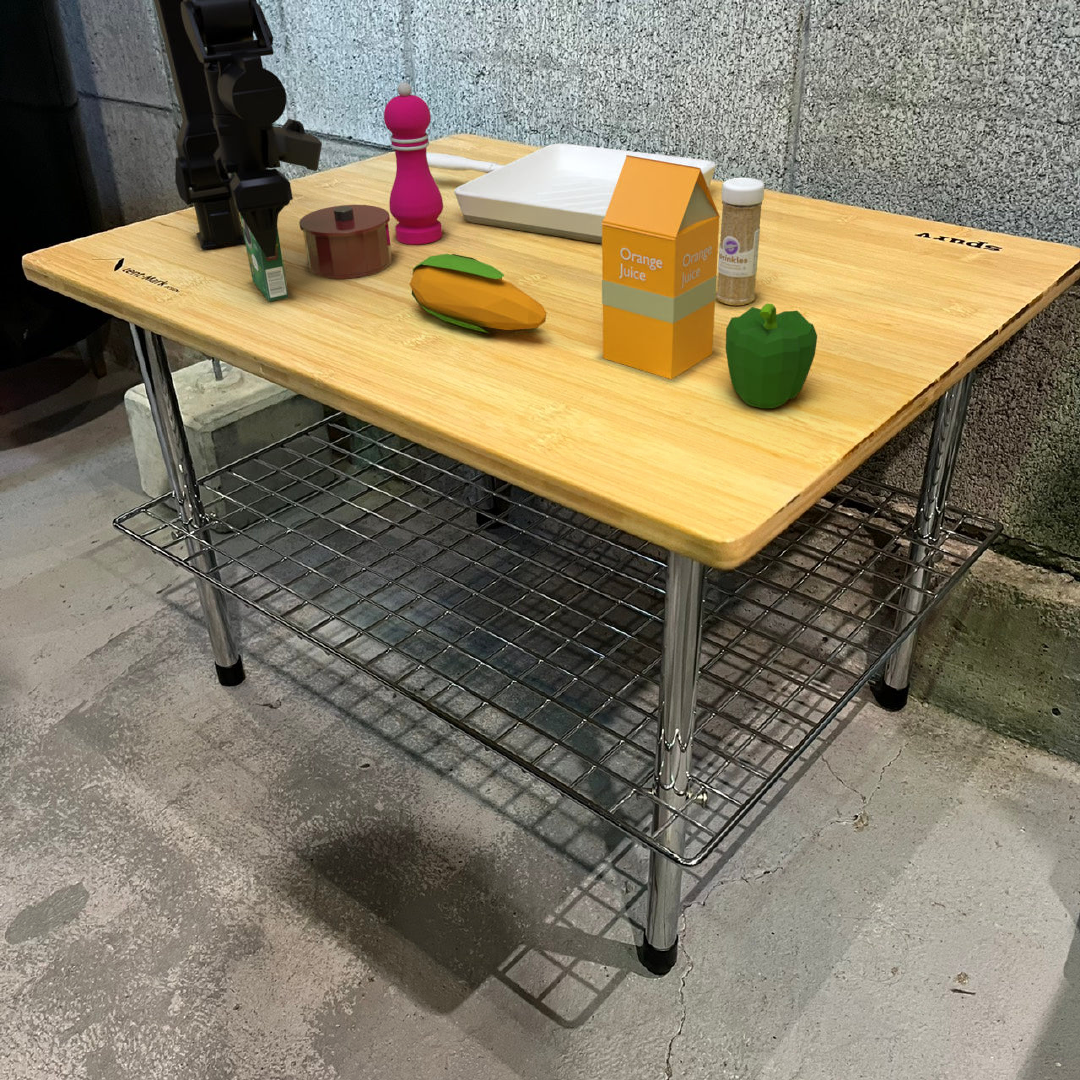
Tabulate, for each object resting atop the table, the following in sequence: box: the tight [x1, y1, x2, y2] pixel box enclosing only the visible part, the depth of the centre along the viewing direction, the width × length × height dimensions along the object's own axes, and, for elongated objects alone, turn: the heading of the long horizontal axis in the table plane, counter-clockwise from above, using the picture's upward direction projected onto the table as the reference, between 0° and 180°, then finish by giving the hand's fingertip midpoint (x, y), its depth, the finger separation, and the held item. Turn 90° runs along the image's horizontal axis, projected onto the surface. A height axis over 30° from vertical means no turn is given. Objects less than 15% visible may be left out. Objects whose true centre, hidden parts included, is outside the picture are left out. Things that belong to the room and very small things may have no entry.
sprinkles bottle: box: [716, 177, 765, 306], centre depth 123 cm, size 5×5×13 cm
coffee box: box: [239, 214, 290, 302], centre depth 131 cm, size 8×3×13 cm, turn 27°
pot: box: [302, 222, 393, 280], centre depth 140 cm, size 11×11×6 cm
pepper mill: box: [383, 81, 444, 246], centre depth 144 cm, size 7×7×20 cm
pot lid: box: [298, 204, 391, 237], centre depth 138 cm, size 11×11×2 cm
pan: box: [426, 142, 717, 245], centre depth 159 cm, size 28×45×5 cm, turn 58°
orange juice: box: [601, 155, 721, 380], centre depth 109 cm, size 8×9×20 cm
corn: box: [409, 253, 547, 334], centre depth 121 cm, size 7×8×20 cm
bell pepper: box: [725, 303, 818, 409], centre depth 103 cm, size 8×8×10 cm
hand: (264, 245), depth 131 cm, fingers open, 8 cm apart
